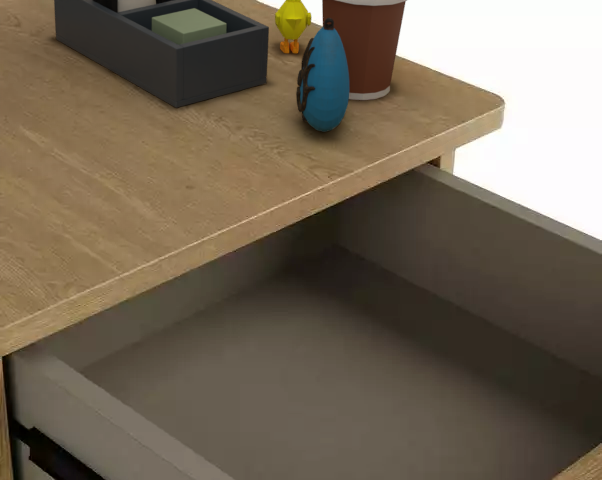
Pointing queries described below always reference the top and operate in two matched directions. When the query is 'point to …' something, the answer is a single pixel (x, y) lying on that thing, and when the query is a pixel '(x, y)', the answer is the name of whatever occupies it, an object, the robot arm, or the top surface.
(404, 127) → the top surface
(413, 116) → the top surface
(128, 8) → the white cylinder
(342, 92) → the ornament
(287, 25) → the toy figure
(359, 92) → the coffee cup
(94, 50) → the dark grey divided tray
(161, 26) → the sage block
